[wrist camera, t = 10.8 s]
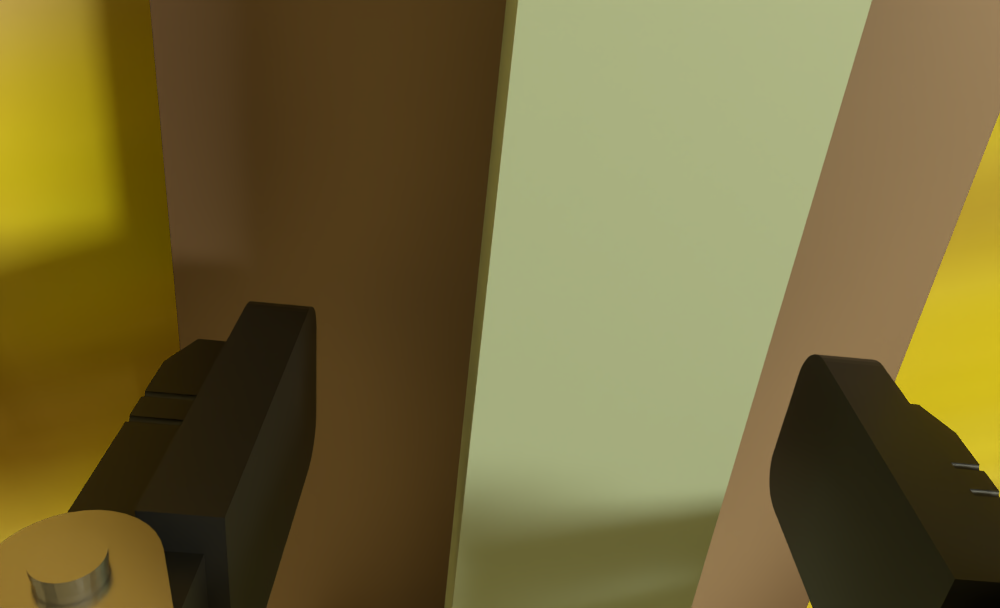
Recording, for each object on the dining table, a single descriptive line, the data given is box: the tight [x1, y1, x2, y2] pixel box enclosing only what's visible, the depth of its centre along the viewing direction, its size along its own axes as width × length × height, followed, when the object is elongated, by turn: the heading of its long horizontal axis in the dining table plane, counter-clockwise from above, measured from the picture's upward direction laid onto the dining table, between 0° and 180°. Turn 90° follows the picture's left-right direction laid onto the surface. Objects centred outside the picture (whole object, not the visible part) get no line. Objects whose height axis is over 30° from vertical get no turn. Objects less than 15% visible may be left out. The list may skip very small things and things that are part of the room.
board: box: [150, 0, 1000, 608], centre depth 12 cm, size 10×21×2 cm, turn 174°
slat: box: [444, 0, 872, 608], centre depth 10 cm, size 2×16×4 cm, turn 174°
